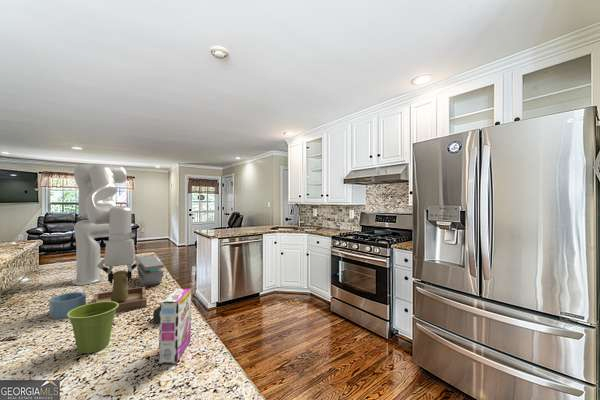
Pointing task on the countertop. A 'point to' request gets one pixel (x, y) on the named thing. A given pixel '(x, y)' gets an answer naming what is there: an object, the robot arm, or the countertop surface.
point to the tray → (132, 302)
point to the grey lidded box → (150, 271)
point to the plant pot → (92, 325)
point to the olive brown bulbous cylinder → (119, 286)
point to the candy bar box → (174, 325)
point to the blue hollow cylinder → (65, 304)
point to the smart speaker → (156, 315)
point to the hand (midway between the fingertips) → (120, 281)
